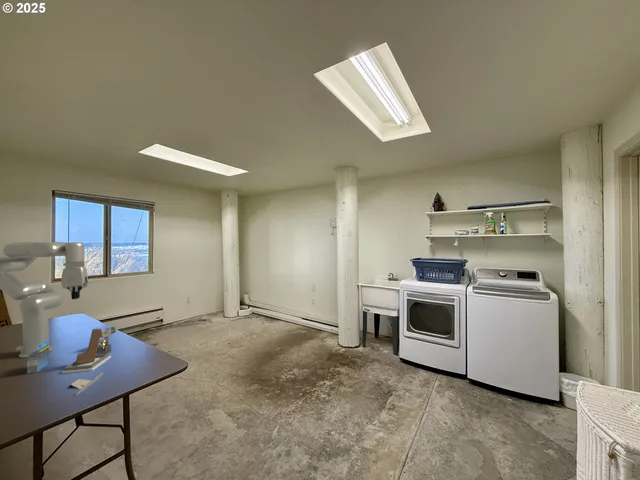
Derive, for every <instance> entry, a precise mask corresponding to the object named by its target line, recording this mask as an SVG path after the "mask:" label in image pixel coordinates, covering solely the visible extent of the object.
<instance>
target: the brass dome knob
mask: <svg viewBox="0 0 640 480" xmlns="http://www.w3.org/2000/svg"><path fill="white" fill-rule="evenodd" d="M106 341H107V339H104V338H102V339H100V340H99V344H100V345H101V347H105V345H106Z"/></svg>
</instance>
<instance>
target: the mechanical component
mask: <svg viewBox="0 0 640 480" xmlns="http://www.w3.org/2000/svg"><path fill="white" fill-rule="evenodd" d="M101 330H102V331H101V335H100V339H101V338H102V339H107V341H106V342H105V345H107V344H110V339H111V336H112V335H114V334H116V333H117V327H116V326H111V328H110V327H108V328H104V329H101Z"/></svg>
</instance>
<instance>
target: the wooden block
mask: <svg viewBox="0 0 640 480" xmlns="http://www.w3.org/2000/svg"><path fill="white" fill-rule="evenodd" d="M102 330H103V329H102V328H92V330H91V335H90V338H89V343H88V347H87V349H86V350H85V351H84V352H78V353H77V355H76V358H75V361H76V363H86V362H94V361H95V356H96V352H97V348H98V346H99V344H100V343H99V341H100V340H101V338H100V335H101V331H102Z"/></svg>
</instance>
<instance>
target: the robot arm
mask: <svg viewBox="0 0 640 480" xmlns="http://www.w3.org/2000/svg"><path fill="white" fill-rule="evenodd" d="M2 253H3V254H4V255H5V256H0V291H1V292H4V294H6V295H7V296H9V297H10V298H11V299H13V300H16V301H20V302H19V304H18V305H19V310H20V313H21V318H22V345H19V346H17V347H16V349H15V350H14V351H15V352H20V353H19V354H18V357H19V358H27V356H28V355H29V354H31V353H33V352H34V351H36V350H38V348H37V345H39V344H41V343H43V342H45V341H46V340H49V341H50V322H49V321H50V320H49V316H48V314H47V313H46V312H45V311H47V310H48V311H49V310H50V309H52V310H53V309H54V308H58V307H60V306H61V305H62V304H63V302H64V297H63V295H62V293H60V292H59V291H58V290H57V289H55V288H54V287H53V286H52V285H50V284H49V283H48V282H47V281H44V280H32V281H25V280H23V279H21V278H20V277H19V276H17V275H15V274H13V273H10V272H20V271H23V270H25V269H27V268H28V267H30V266H31V265H32V263H33V262H35V260H36V259H38V258H47V257H48V258H52V257H65V259H64V260H65V262H64V263H62V265H63V266H65V267H64V268H63V270H62V272H61V280H60V281H61V287H62V289H65V290H68V291H69V292H70V295H71V300H78V299H80V297H81V292H80V291H82V290H83V289H84V288H88V284H89V283H88V282H89V278H88V276H89V275H88V270H87V266H85V244H84V243H83V242H78V241H77V242H76V241H75V242H64V241H62V242H60V241H59V242H57V241H54V242H52V241H51V242H39V241H25V242H24V241H23V242H22V241H21V242H11V243H8V244H6V245H4V247H3V249H2ZM44 345H45V344H43V345H42V347H43V346H44ZM52 350H54V346H51V345H49V352H51V351H52Z"/></svg>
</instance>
